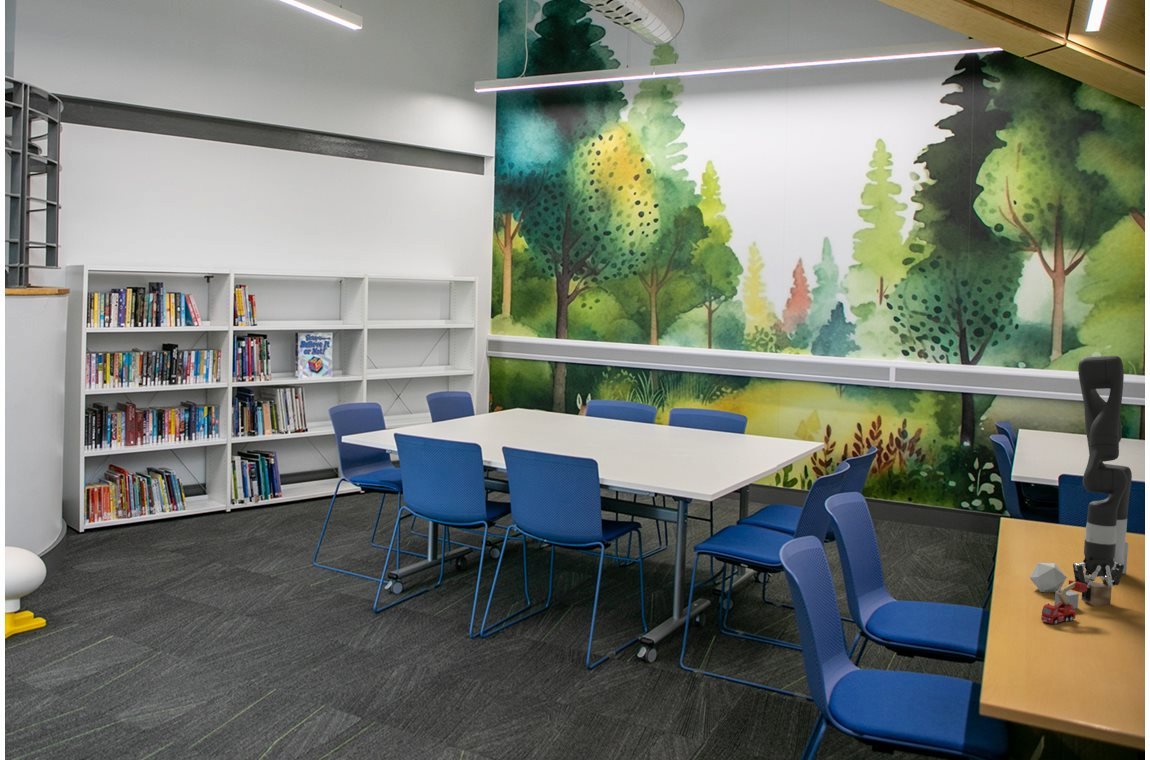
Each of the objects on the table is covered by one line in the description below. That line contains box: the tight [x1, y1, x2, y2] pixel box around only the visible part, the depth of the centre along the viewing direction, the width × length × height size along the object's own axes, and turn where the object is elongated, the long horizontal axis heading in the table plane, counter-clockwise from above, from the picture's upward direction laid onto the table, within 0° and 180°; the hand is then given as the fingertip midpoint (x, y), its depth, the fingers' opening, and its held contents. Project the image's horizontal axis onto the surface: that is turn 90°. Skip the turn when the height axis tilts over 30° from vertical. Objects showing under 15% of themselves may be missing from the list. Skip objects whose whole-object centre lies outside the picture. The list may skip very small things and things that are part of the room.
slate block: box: [1054, 590, 1079, 610], centre depth 255 cm, size 4×4×4 cm
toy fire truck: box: [1040, 579, 1087, 625], centre depth 244 cm, size 3×14×10 cm, turn 118°
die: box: [1029, 562, 1068, 593], centre depth 269 cm, size 8×9×10 cm
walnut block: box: [1081, 581, 1113, 606], centre depth 259 cm, size 5×5×5 cm
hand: (1095, 599), depth 260 cm, fingers closed on walnut block, 5 cm apart
